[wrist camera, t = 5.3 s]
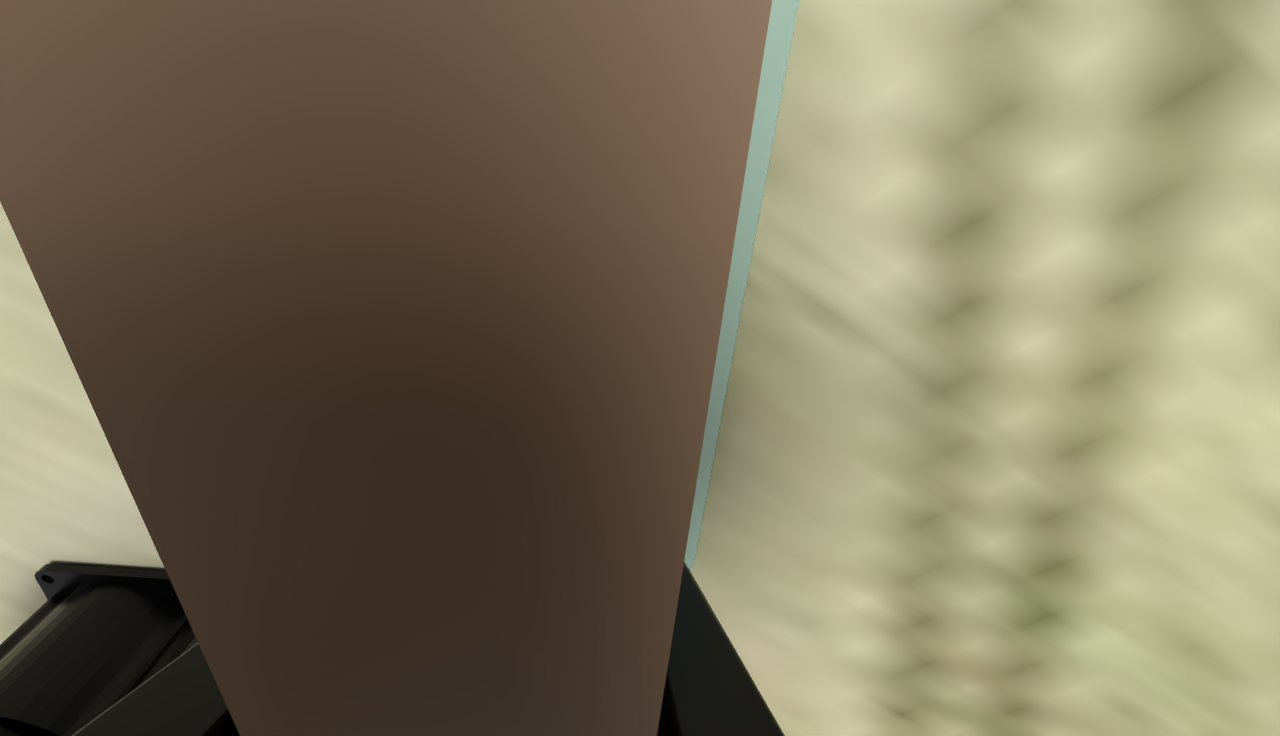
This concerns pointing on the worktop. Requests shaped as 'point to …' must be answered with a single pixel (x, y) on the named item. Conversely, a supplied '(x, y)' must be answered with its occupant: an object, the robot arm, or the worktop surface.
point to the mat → (744, 240)
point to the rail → (396, 330)
